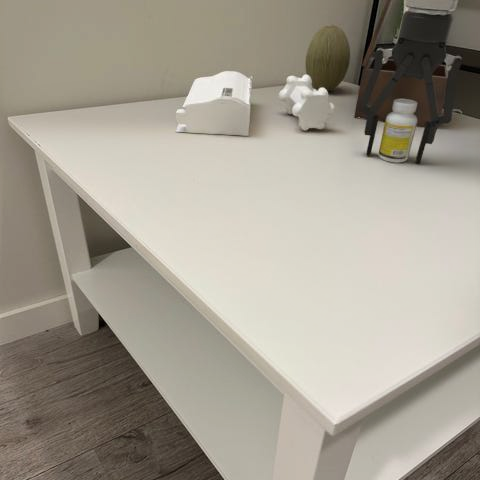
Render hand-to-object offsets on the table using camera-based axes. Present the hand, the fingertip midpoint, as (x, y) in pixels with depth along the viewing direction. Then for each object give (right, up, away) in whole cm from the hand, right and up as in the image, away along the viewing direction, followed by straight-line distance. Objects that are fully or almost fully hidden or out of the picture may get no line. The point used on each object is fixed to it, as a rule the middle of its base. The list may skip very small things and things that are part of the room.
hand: (393, 156), depth 88 cm
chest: (+8, +18, +24) cm, 31 cm away
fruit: (-6, +31, +40) cm, 51 cm away
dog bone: (-15, +13, +16) cm, 25 cm away
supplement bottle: (0, 0, 0) cm, 1 cm away
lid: (+3, +35, +13) cm, 38 cm away
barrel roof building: (-33, +14, +16) cm, 40 cm away
